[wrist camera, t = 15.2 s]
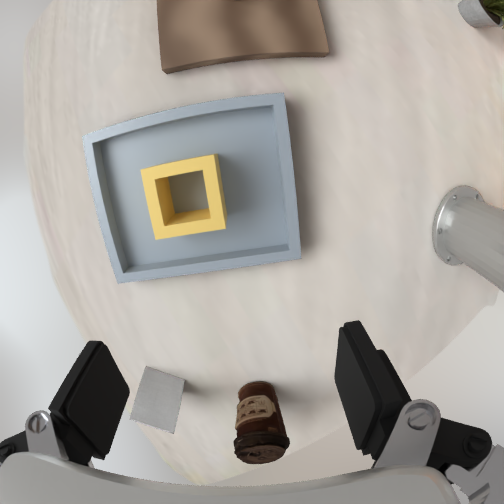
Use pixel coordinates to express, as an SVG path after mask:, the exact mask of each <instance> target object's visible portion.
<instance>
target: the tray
mask: <svg viewBox="0 0 504 504" xmlns="http://www.w3.org/2000/svg"><path fill="white" fill-rule="evenodd" d="M82 138H83V146H84V152H85V158H86V164H87V170H88V175H89V180H90V185H91V190H92V194H93V199H94V203H95V208H96V212H97V216H98V220H99V224H100V227H101V231H102V235H103V238H104V242H105V245H106V249H107V252H108V255H109V258H110V262H111V265H112V268H113V271H114V274H115V277H116V280H117V283H126V282H134V281H142V280H150V279H158V278H166V277H173V276H181V275H188V274H196V273H203V272H211V271H218V270H225V269H233V268H240V267H247V266H254V265H261V264H268V263H275V262H282V261H289V260H295V259H301V248H300V234H299V222H298V210H297V199H296V189H295V179H294V169H293V160H292V152H291V143H290V135H289V127H288V120H287V112H286V105H285V98H284V93H274V94H262V95H252V96H244V97H236V98H229V99H222V100H216V101H210V102H204V103H198V104H193V105H188V106H183V107H179V108H174V109H170V110H166V111H161V112H157V113H153V114H150V115H146V116H142V117H139V118H135V119H132V120H128V121H125V122H122V123H118V124H115V125H112V126H109V127H106V128H103V129H100V130H98V131H95V132H92V133H89V134H87V135H84V136H82ZM216 153H218V159H219V166H220V172H221V179H222V185H223V191H224V198H225V204H226V210H227V223H226V229H221V230H215V231H208V232H202V233H195V234H189V235H183V236H176V237H170V238H164V239H158V240H156V239H155V235H154V231H153V227H152V223H151V219H150V214H149V210H148V205H147V201H146V196H145V191H144V186H143V181H142V176H141V169H144V168H148V167H151V166H155V165H159V164H164V163H169V162H173V161H178V160H183V159H188V158H194V157H199V156H205V155H210V154H216ZM168 181H169V186H170V191H171V196H172V202H173V206H174V211H175V214H176V213H182V212H187V211H193V210H199V209H205V208H209V205H208V199H207V193H206V187H205V181H204V175H203V170H199V171H193V172H188V173H183V174H178V175H173V176H168Z"/></svg>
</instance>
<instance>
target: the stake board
mask: <svg viewBox="0 0 504 504" xmlns="http://www.w3.org/2000/svg"><path fill="white" fill-rule="evenodd" d="M157 15H158V31H159V44H160V55H161V65H162V70H163V71H164V72H165V73H166V74H169V73H173V72H178V71H182V70H187V69H192V68H197V67H202V66H208V65H214V64H220V63H227V62H235V61H244V60H253V59H266V58H283V57H325V56H326V55H327V54H328V53H329V48H328V43H327V38H326V34H325V29H324V25H323V21H322V17H321V13H320V9H319V5H318V1H317V0H237V1H236V0H157Z"/></svg>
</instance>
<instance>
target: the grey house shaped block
mask: <svg viewBox="0 0 504 504" xmlns="http://www.w3.org/2000/svg"><path fill="white" fill-rule="evenodd" d="M184 381H185V379H181V378H178V377H175V376H172V375H169V374H166V373H164V372H161V371H158V370H155V369H152V368H150V367H147V366H146V367H145V370H144V373H143V376H142V379H141V382H140V385H139V388H138V391H137V395H136V398H135V402H134V405H133V409H132V412H131V416H130V420H133V421H135V422H138V423H141V424H144V425H147V426H150V427H153V428H156V429H159V430H163V431H166V432H169V433H173V434H174V432H175V427H176V422H177V418H178V414H179V409H180V405H181V398H182V392H183V386H184Z"/></svg>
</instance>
